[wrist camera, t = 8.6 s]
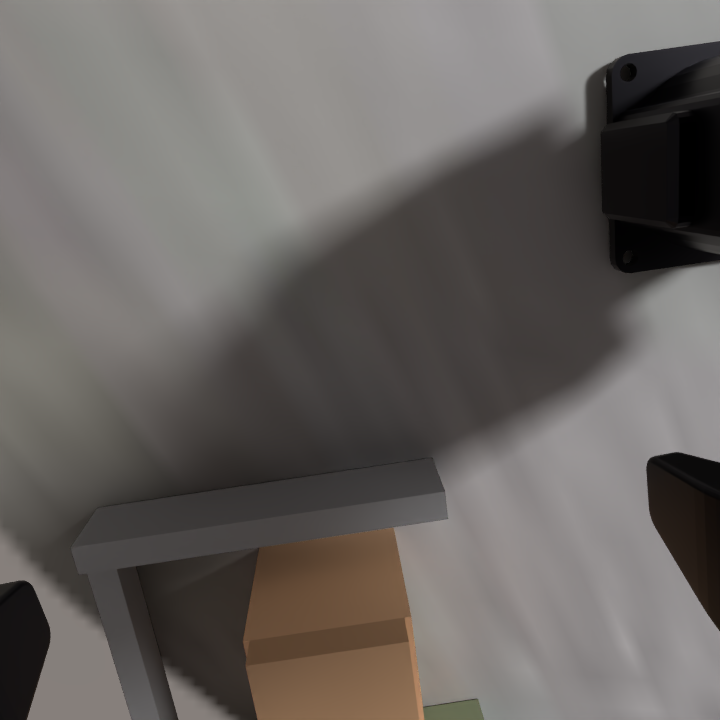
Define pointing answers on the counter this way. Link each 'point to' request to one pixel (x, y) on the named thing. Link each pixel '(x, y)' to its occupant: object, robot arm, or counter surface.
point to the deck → (234, 533)
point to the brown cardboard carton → (332, 632)
